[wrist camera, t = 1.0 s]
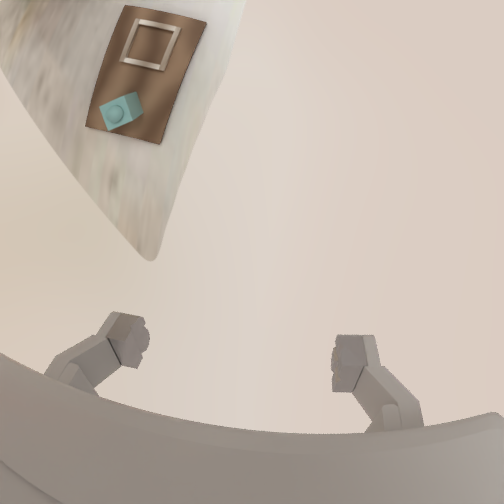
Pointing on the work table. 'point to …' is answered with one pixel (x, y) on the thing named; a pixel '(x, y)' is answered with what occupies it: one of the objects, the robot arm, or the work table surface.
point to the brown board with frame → (145, 68)
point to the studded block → (121, 110)
